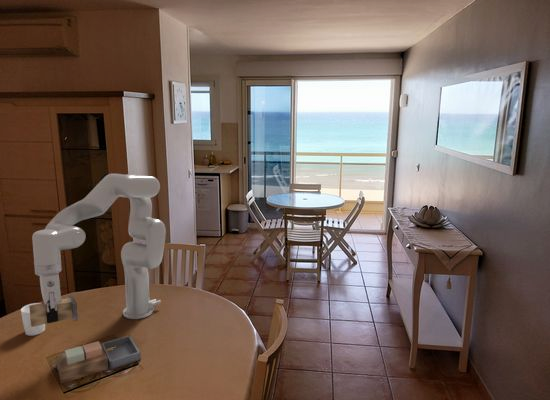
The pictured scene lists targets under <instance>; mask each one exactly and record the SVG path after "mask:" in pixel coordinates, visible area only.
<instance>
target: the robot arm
mask: <svg viewBox="0 0 550 400" xmlns="http://www.w3.org/2000/svg"><path fill="white" fill-rule="evenodd" d="M160 189H161V184H160V182H159V180H158V178H156V177H155V176H150V175H143V174H137V173H127V174H121V173H108V174H107V175H105V176H104V177H103V178H102V179H101V180H100V181H99V182H98V183H97V184H96V186H95V187H94V188H93V189H92V190H91V191H89V193H88V194H87V195H86V196H85V197H84V198H82V199H81V200H78V201H77V202H75V203H73V204H71V205H69V206H66V207H65V208H63V209H62V210H60V211H59V212H58V213H56V215H55V216H54V217H53V218H52V219H51V220H50V221H49V222H48V223H47V225H46V226H45V227H44V229H41V230H37V231H35V232H34V233H33V234H32V237H31V238H32V250H33V264H34V274H35V275H36V276H39V284H40V291H41V295H42V301H43V300H44V304H46V305H47V312H46V315H47V323H48V324H52V323H57V322H59V321H58V311H57V305H56V300H57V302H61V299H62V296H61V283H60V275H59V273H61V272H62V260H61V251H65V250H70V249H71V250H72V249H75V248H76V249H77V248H79V247H81V246H82V245H83V244H84V242H85V241H86V232H85V230H83V229H82V228H81V227H80V226H79V227H78V226H75V224H78V223H80V222H81V221H84V220H88V219H91V218H95V217H99V216H102V215H104V214H105V213H106V212H107V211H108V209H109V208H110V207H111V206H112V205H113V204H114V203H115V201H116V200H117V199H119V198H120V197H121V198H128V200H129V203H130V211H129V218H128V227H127V228H128V229H127V232H128V235H129V236H130V237H131V238H132V239H135V240H141V241H146V243H145V242H139V241H129V242H127V243H125V244H124V245H123V246H122V248H121V251H120V257H121V263H122V265H123V271H124V288H125V305H126V307H125V308H124V309H123V310H122V316H123V317H124V318H126V319H129V320H139V319H144V318H148V317H150V316H151V315H152V314H154V311H155V310H154V309H155V308H154V307H155V306H160V305H162V302H161V299H158V300H157V299H156V298H154V299H150V282H149V281H150V280H149V279H150V278H149V275H150V274H149V269H156V268H158V267H159V266H160V265H161V263H162V260H163V257H164V249H165V242H166V234H167V232H166V231H167V229H166V225H165V223H164V222H163V221H162V220H160V219H157V218H154V217H153V218H152V214H153V213H152V211H153V204H152V203H153V202H152V199H151V198H153V197H155V196H157V195H158V193H159V192H160ZM49 305H50V306H49Z"/></svg>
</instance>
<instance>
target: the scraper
mask: <svg viewBox="0 0 550 400" xmlns="http://www.w3.org/2000/svg"><path fill="white" fill-rule="evenodd" d="M39 303H40V304H35V305H30V306H29V308H30V320H31V327H34V326H39V325H43V324H45V325H46V324H49V323H47V315H46V312H47V305H46V304H44V303H42V302H39ZM56 305H57V311H58V321H57V322H61V321H65V320H70V319H72V320H73V322H78V320H79V318H78V317H79V316H78V304H77V301H76V298H75V296H74V294H71V293H70V294H68V297H67V298H61V302H57V300H56ZM49 306H50V305H49Z"/></svg>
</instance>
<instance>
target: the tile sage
mask: <svg viewBox="0 0 550 400" xmlns="http://www.w3.org/2000/svg"><path fill="white" fill-rule="evenodd" d="M82 348H83V345H82V346H81V345H80V346H76V347H72V348H68V349H66V350H64V353H65V357H66V360H67V364H68V365H69V364H73V363H76V362H79V361H83V360H85V358H84V351H83V349H82Z"/></svg>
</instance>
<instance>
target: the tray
mask: <svg viewBox="0 0 550 400" xmlns="http://www.w3.org/2000/svg"><path fill="white" fill-rule="evenodd" d="M100 343H101V342H100ZM101 345H102V347H103V350H104V352H105V354H106V356H107V358H108V369H110V370H111V371H112V370H115V369H118V368H121V367H124V366H127V365H130V364H133V363H136V362H140V361H141V351H140V350H139V348H138V346H137V345H136V343H135V342H134V339H133V338H132V337H131V335H126V336H123V337H120V338H119V337H118V338H115V339H112V340H107V341H105V342H102V343H101ZM115 346H116V347H115ZM111 347H115V348H113V350H109V351H107V350H106V348H111Z"/></svg>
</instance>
